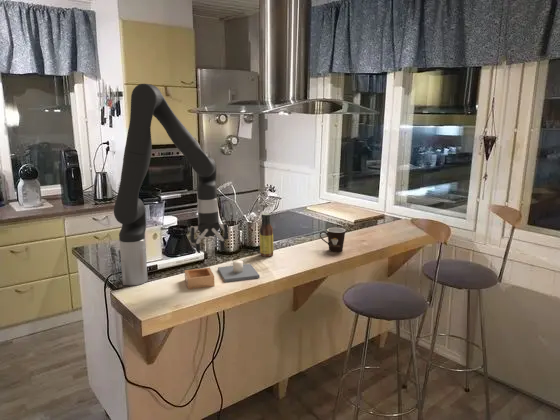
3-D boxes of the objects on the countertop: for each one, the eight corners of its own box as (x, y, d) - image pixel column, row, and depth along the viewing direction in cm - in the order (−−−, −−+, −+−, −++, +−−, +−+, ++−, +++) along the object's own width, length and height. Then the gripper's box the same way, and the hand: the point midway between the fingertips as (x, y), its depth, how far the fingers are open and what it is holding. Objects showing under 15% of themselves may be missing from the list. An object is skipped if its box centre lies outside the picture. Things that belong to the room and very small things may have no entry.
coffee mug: (348, 250, 209) (349, 230, 207) (337, 254, 203) (338, 233, 201) (328, 245, 217) (329, 225, 215) (318, 248, 211) (318, 229, 208)
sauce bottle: (266, 252, 206) (266, 211, 201) (276, 254, 202) (276, 213, 197) (256, 255, 201) (256, 213, 196) (267, 258, 197) (266, 215, 192)
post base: (224, 282, 169) (224, 269, 168) (218, 270, 182) (217, 258, 181) (259, 277, 174) (259, 265, 173) (250, 266, 187) (250, 254, 186)
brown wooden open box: (188, 289, 163) (187, 279, 162) (184, 279, 172) (184, 270, 171) (214, 286, 166) (214, 276, 165) (209, 276, 175) (209, 267, 174)
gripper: (190, 213, 158) (192, 256, 162) (228, 210, 162) (230, 252, 166) (187, 209, 165) (190, 250, 168) (224, 206, 169) (226, 246, 173)
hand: (210, 251), depth 167 cm, fingers open, 8 cm apart
